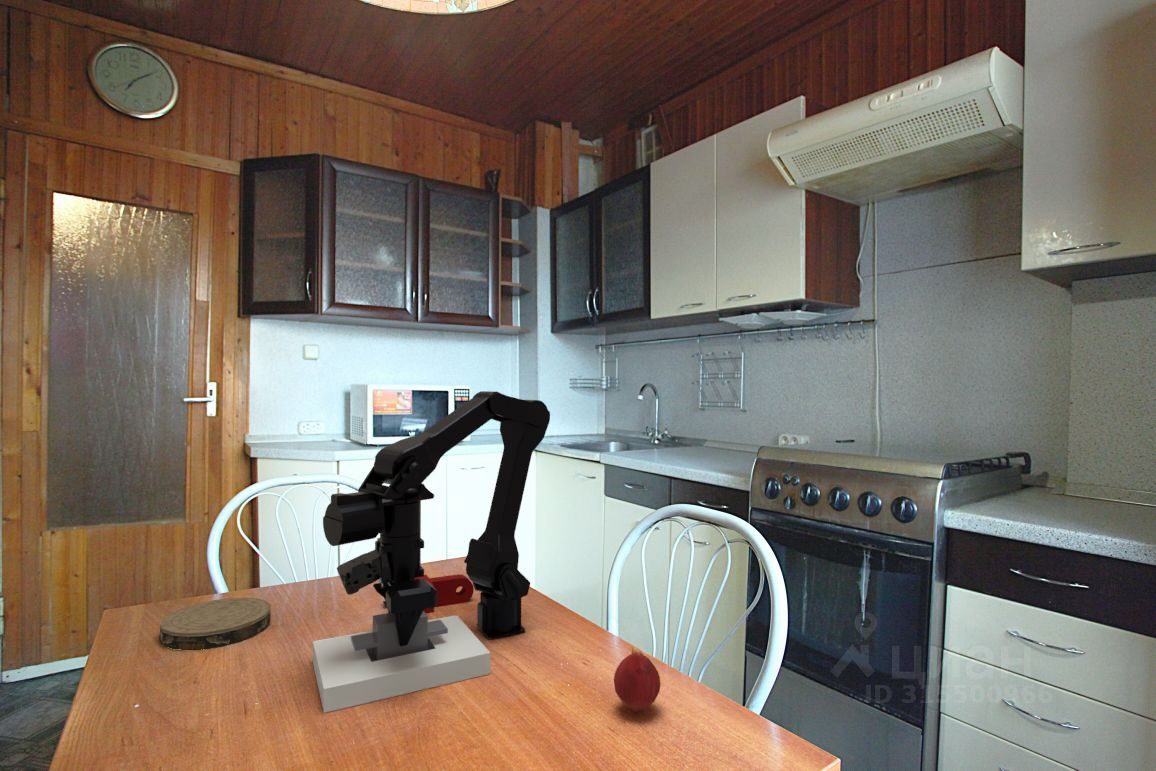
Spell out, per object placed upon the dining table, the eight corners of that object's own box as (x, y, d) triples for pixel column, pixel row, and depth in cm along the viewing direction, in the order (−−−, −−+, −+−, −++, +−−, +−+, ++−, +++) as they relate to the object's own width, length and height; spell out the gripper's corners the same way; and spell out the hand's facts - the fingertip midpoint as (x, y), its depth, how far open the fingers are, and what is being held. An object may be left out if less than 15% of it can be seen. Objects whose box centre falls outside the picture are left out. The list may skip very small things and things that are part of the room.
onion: (663, 703, 78) (664, 642, 78) (654, 727, 73) (655, 661, 73) (620, 696, 80) (620, 635, 80) (608, 718, 75) (608, 654, 75)
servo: (354, 672, 83) (355, 623, 83) (350, 661, 87) (350, 613, 87) (447, 653, 89) (447, 607, 89) (440, 643, 93) (440, 598, 93)
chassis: (456, 633, 100) (456, 615, 100) (490, 673, 86) (490, 652, 86) (312, 661, 90) (312, 641, 90) (323, 712, 76) (324, 689, 76)
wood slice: (260, 645, 96) (260, 626, 96) (143, 658, 91) (143, 638, 91) (278, 610, 111) (278, 593, 111) (179, 619, 106) (179, 602, 106)
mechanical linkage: (388, 620, 106) (388, 592, 106) (383, 606, 113) (383, 580, 113) (476, 606, 113) (477, 580, 113) (467, 594, 119) (467, 569, 119)
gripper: (333, 525, 92) (333, 627, 92) (351, 556, 76) (350, 680, 76) (407, 518, 98) (407, 614, 98) (438, 545, 81) (438, 661, 81)
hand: (400, 639), depth 88 cm, fingers closed on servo, 4 cm apart
